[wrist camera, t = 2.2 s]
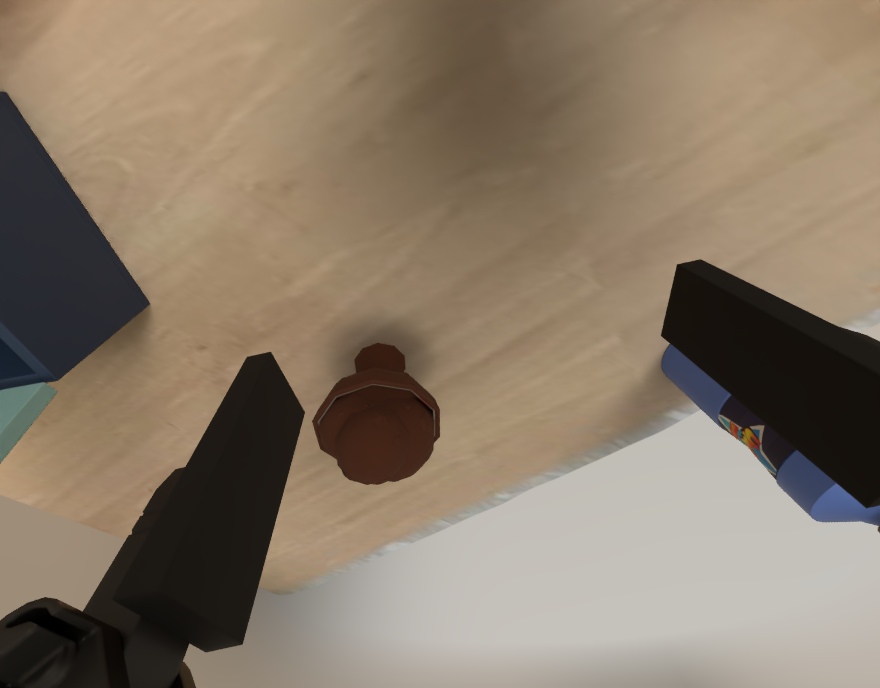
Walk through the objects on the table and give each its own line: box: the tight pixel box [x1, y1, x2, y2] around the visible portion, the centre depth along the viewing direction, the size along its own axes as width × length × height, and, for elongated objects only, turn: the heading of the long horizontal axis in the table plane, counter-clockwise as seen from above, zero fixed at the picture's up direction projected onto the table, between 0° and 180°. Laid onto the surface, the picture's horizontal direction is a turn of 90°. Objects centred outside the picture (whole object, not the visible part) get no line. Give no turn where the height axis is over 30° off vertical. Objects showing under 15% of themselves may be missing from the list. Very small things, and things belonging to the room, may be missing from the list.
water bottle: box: [662, 344, 880, 532], centre depth 33 cm, size 9×9×25 cm
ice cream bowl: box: [312, 343, 440, 485], centre depth 32 cm, size 11×11×15 cm
